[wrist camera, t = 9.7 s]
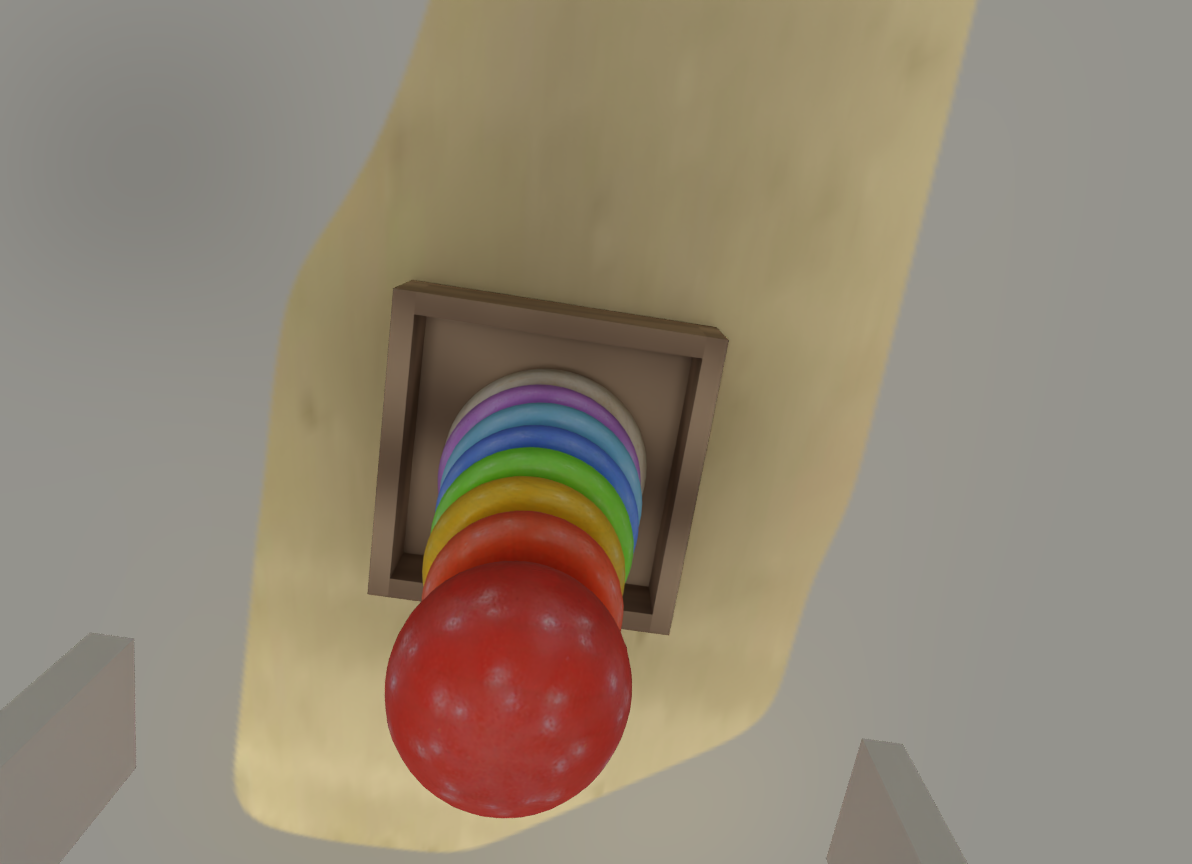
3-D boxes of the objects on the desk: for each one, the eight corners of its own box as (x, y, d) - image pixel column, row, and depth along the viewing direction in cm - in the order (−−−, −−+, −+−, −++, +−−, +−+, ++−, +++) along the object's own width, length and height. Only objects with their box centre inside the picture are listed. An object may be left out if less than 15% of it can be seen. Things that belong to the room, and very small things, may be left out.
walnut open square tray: (411, 279, 31) (393, 287, 28) (716, 327, 32) (729, 340, 29) (386, 560, 34) (367, 594, 31) (662, 599, 35) (668, 635, 32)
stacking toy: (666, 522, 33) (756, 903, 15) (482, 571, 34) (360, 994, 16) (615, 340, 31) (649, 532, 13) (420, 395, 32) (195, 652, 14)
